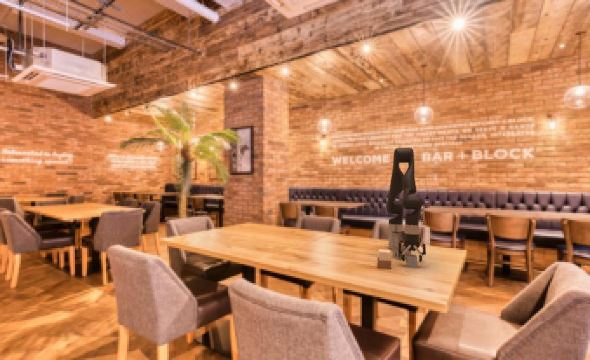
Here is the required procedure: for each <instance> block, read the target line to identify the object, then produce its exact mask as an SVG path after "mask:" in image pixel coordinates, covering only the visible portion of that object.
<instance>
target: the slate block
mask: <svg viewBox="0 0 590 360" xmlns="http://www.w3.org/2000/svg"><path fill="white" fill-rule="evenodd" d="M405 260H406V261H405V263H406V267H407V268H412V269H415V268H416V269H417V268H418V256H417V254H412V253H411V254H406V259H405Z"/></svg>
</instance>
